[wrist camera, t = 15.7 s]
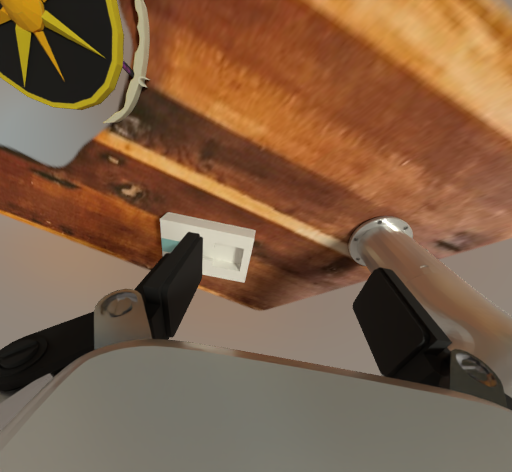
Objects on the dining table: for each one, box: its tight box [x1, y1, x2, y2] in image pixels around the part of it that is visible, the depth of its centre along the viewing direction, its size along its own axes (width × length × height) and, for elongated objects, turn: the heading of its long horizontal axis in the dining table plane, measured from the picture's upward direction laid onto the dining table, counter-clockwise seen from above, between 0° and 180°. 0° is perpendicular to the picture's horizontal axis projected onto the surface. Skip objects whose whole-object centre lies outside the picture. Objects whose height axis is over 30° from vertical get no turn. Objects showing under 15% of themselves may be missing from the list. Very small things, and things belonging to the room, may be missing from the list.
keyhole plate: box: [160, 212, 256, 283], centre depth 45 cm, size 20×13×4 cm, turn 79°
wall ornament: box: [0, 0, 150, 123], centre depth 26 cm, size 23×5×30 cm
